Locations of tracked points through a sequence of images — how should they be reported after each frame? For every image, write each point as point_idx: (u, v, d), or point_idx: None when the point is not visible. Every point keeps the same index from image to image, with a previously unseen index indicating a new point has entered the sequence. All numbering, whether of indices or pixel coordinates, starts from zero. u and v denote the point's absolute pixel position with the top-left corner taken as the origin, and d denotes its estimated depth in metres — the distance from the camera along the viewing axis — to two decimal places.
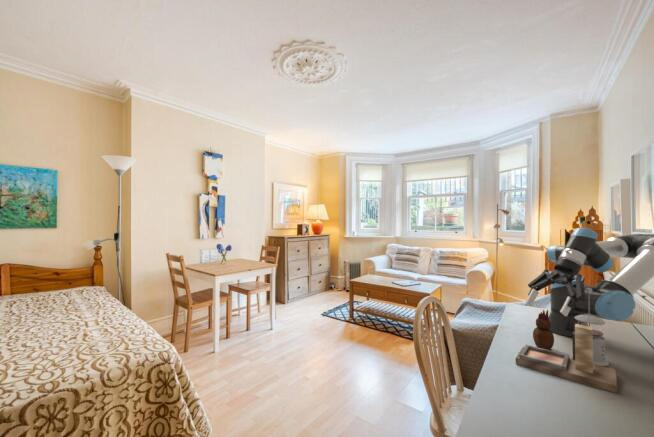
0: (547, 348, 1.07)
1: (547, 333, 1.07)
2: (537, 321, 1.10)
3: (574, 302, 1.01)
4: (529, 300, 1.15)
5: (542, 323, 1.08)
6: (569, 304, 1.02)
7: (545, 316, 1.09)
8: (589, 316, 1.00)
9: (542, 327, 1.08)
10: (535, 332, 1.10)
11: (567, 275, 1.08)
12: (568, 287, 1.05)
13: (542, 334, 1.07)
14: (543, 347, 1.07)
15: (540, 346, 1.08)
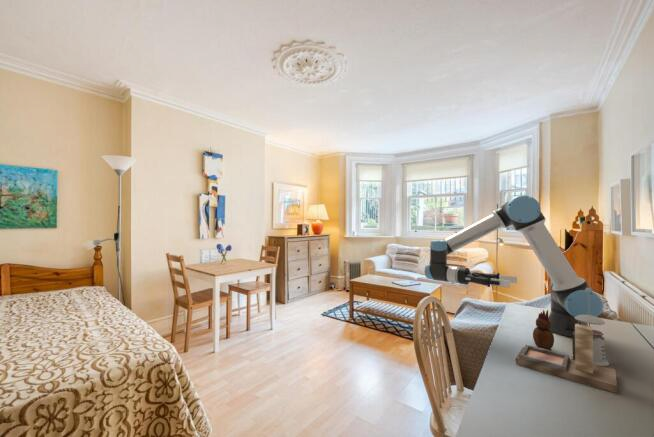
0: (547, 348, 1.07)
1: (547, 333, 1.07)
2: (537, 321, 1.10)
3: (492, 282, 1.15)
4: (512, 281, 1.23)
5: (542, 323, 1.08)
6: None
7: (545, 316, 1.09)
8: (589, 316, 1.00)
9: (542, 327, 1.08)
10: (535, 332, 1.10)
11: None
12: None
13: (542, 334, 1.07)
14: (543, 347, 1.07)
15: (540, 346, 1.08)
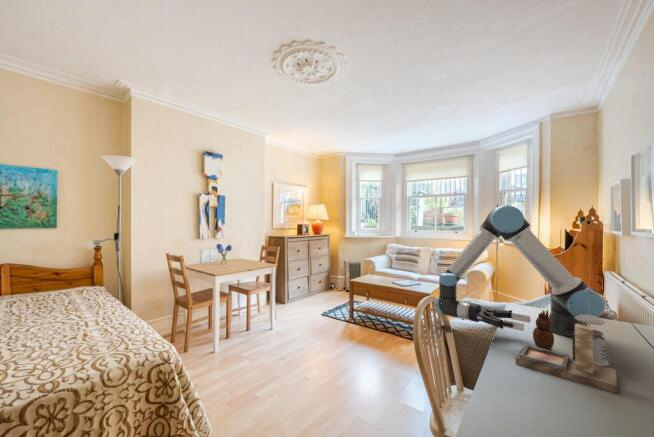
0: (547, 348, 1.07)
1: (547, 333, 1.07)
2: (537, 321, 1.10)
3: (506, 324, 1.11)
4: (526, 320, 1.19)
5: (542, 323, 1.08)
6: None
7: (545, 316, 1.09)
8: (589, 316, 1.00)
9: (542, 327, 1.08)
10: (535, 332, 1.10)
11: None
12: None
13: (542, 334, 1.07)
14: (543, 347, 1.07)
15: (540, 346, 1.08)
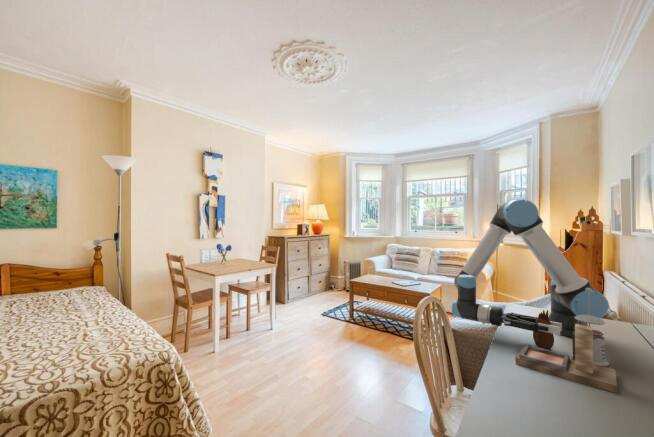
0: (547, 348, 1.07)
1: (547, 333, 1.07)
2: (537, 321, 1.10)
3: (541, 328, 1.07)
4: None
5: (542, 323, 1.08)
6: None
7: (545, 316, 1.09)
8: (589, 316, 1.00)
9: None
10: (535, 332, 1.10)
11: None
12: None
13: (542, 334, 1.07)
14: (543, 347, 1.07)
15: (540, 346, 1.08)
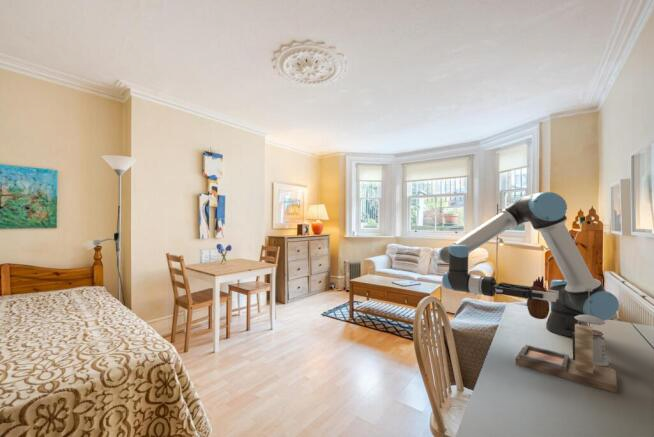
0: (542, 317, 0.99)
1: (541, 301, 0.99)
2: (531, 289, 1.02)
3: (535, 295, 0.99)
4: None
5: (536, 290, 1.00)
6: None
7: (540, 283, 1.01)
8: (589, 316, 1.00)
9: None
10: (529, 300, 1.02)
11: None
12: None
13: (537, 302, 0.99)
14: (537, 316, 1.00)
15: (534, 315, 1.00)
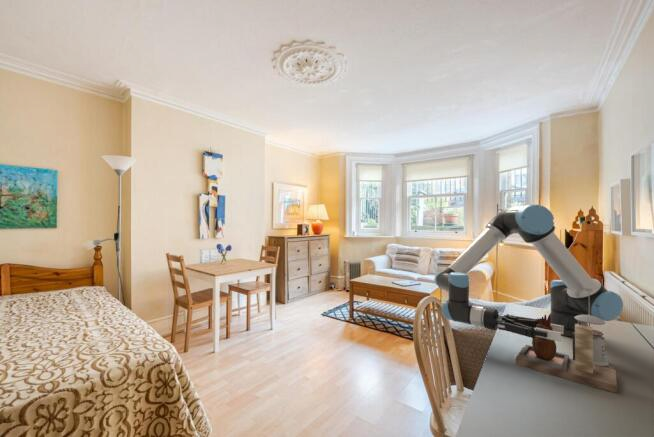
0: (548, 358, 0.94)
1: (548, 341, 0.93)
2: (537, 327, 0.97)
3: (538, 333, 0.93)
4: (558, 331, 0.97)
5: None
6: None
7: (547, 321, 0.95)
8: (589, 316, 1.00)
9: None
10: (535, 339, 0.97)
11: None
12: None
13: (543, 342, 0.94)
14: (544, 357, 0.94)
15: (540, 356, 0.95)
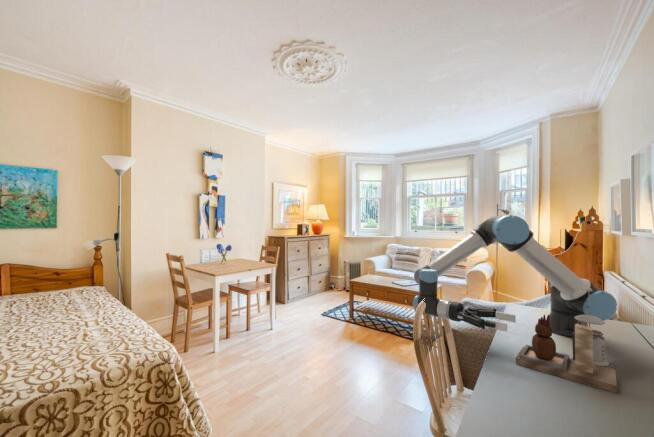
0: (548, 358, 0.94)
1: (548, 341, 0.93)
2: (537, 327, 0.97)
3: (488, 324, 1.01)
4: (510, 320, 1.09)
5: (542, 330, 0.95)
6: None
7: (546, 322, 0.95)
8: (589, 316, 1.00)
9: (542, 334, 0.95)
10: (534, 340, 0.97)
11: None
12: None
13: (543, 342, 0.94)
14: (543, 357, 0.94)
15: (540, 356, 0.95)
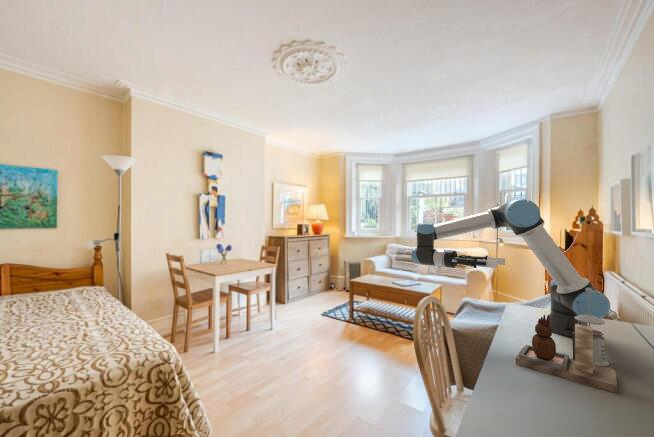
0: (548, 358, 0.94)
1: (548, 341, 0.93)
2: (537, 327, 0.97)
3: (479, 263, 1.10)
4: (500, 263, 1.18)
5: (542, 330, 0.95)
6: None
7: (546, 322, 0.95)
8: (589, 316, 1.00)
9: (542, 334, 0.95)
10: (534, 340, 0.97)
11: None
12: None
13: (543, 342, 0.94)
14: (543, 357, 0.94)
15: (540, 356, 0.95)
